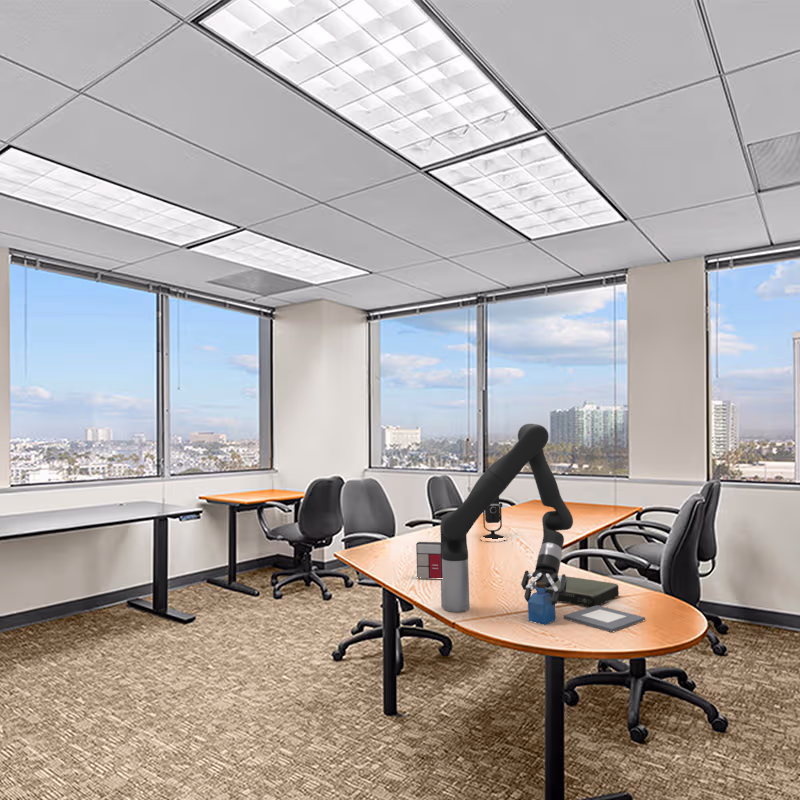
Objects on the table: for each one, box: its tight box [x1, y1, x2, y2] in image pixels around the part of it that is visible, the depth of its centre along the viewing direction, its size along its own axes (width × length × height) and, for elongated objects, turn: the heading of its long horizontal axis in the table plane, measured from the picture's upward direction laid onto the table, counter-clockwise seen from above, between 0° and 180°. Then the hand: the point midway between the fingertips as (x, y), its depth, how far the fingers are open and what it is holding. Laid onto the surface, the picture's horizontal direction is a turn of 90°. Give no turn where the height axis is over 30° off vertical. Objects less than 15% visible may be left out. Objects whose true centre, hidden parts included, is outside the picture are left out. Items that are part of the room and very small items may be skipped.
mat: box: [562, 605, 646, 633], centre depth 192 cm, size 18×18×1 cm
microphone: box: [482, 496, 505, 539], centre depth 343 cm, size 16×16×30 cm
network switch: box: [546, 575, 620, 608], centre depth 219 cm, size 23×24×5 cm
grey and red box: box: [415, 541, 443, 578], centre depth 253 cm, size 11×4×15 cm, turn 76°
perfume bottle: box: [527, 582, 557, 626], centre depth 193 cm, size 6×6×12 cm
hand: (540, 602), depth 192 cm, fingers open, 8 cm apart
